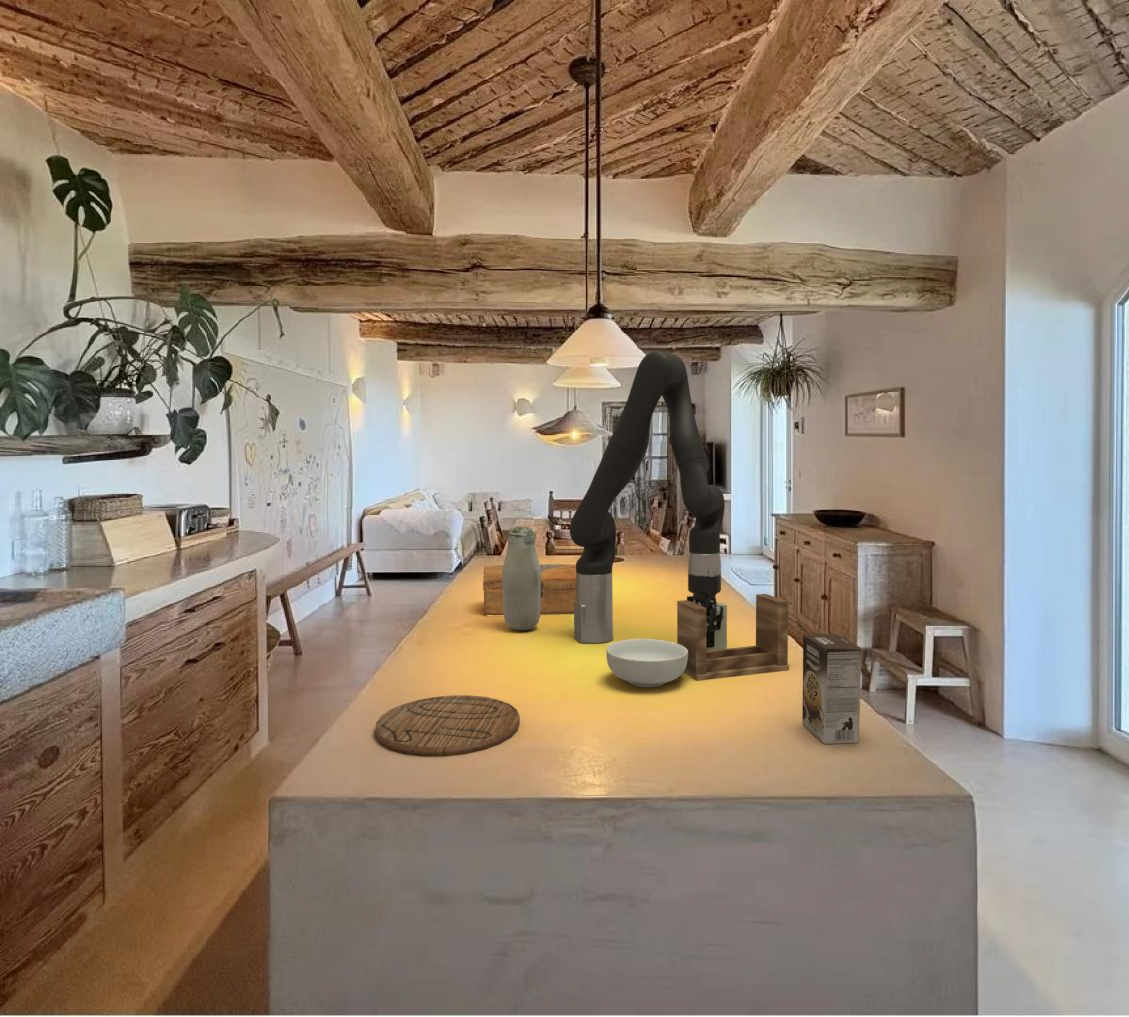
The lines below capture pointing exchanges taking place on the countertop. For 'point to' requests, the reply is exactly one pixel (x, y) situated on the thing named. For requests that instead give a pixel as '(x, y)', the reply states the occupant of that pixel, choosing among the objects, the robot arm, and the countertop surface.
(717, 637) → the door panel
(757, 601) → the brown wooden stand
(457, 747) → the trivet
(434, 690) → the countertop surface
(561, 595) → the wooden box
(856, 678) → the coffee box
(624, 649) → the cereal bowl
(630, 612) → the countertop surface
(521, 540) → the grey green bottle
